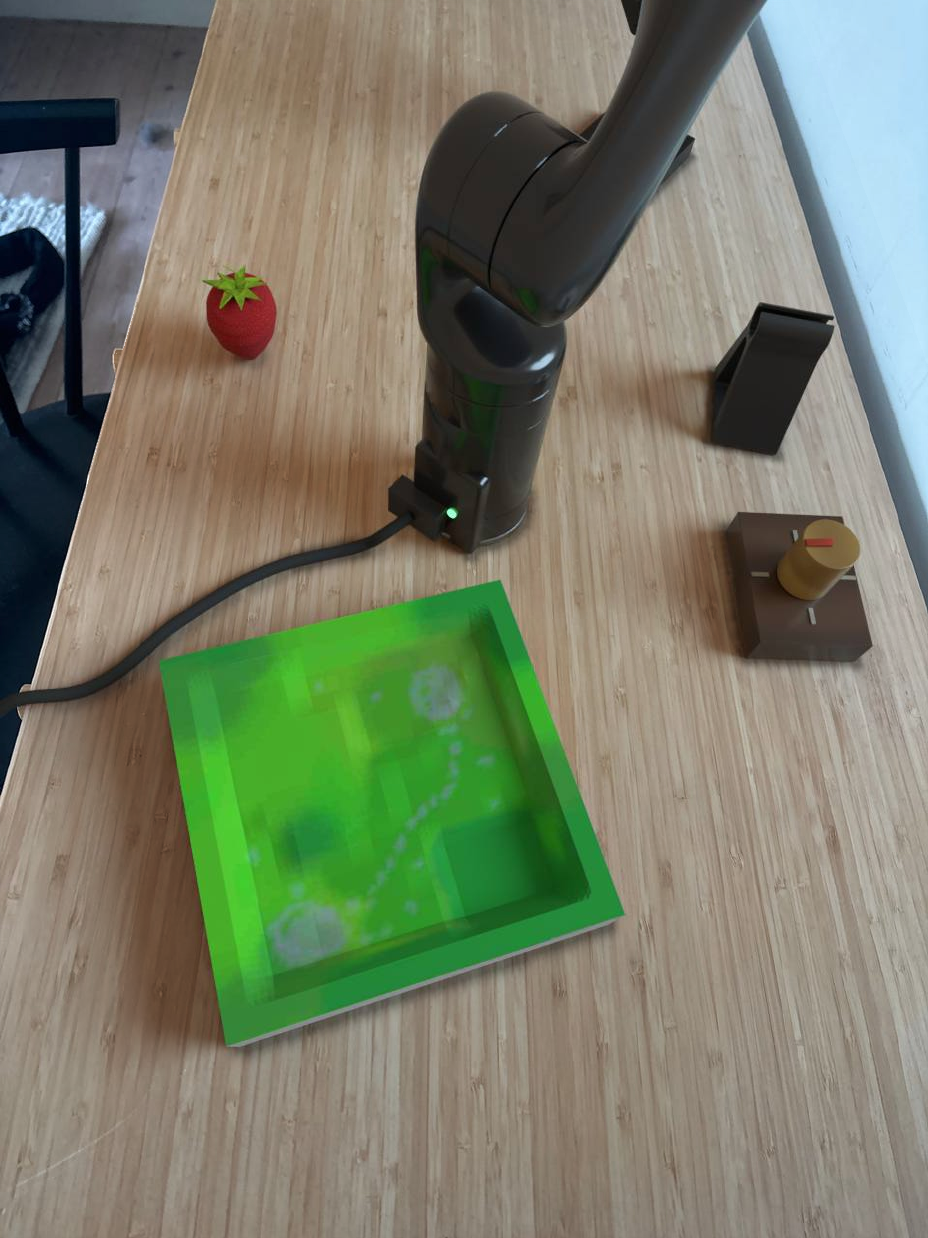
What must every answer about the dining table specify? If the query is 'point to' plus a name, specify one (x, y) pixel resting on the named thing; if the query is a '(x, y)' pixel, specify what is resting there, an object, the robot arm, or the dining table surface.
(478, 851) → the tray
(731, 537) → the lock plate
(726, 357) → the phone stand
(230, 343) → the strawberry
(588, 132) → the button block
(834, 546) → the lock knob
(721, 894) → the dining table surface
